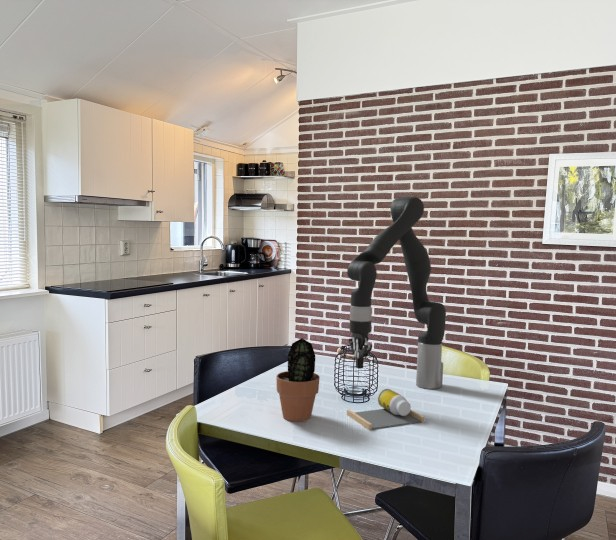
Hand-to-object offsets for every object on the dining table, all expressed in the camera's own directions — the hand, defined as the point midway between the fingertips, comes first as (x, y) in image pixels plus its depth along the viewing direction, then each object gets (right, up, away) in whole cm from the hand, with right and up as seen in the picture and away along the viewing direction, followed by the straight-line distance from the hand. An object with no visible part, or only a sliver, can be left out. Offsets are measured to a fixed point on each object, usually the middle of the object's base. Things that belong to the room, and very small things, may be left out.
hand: (359, 367), depth 178 cm
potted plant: (-21, -13, -16) cm, 30 cm away
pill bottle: (+8, -9, -6) cm, 13 cm away
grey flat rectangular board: (+7, -13, -15) cm, 21 cm away
